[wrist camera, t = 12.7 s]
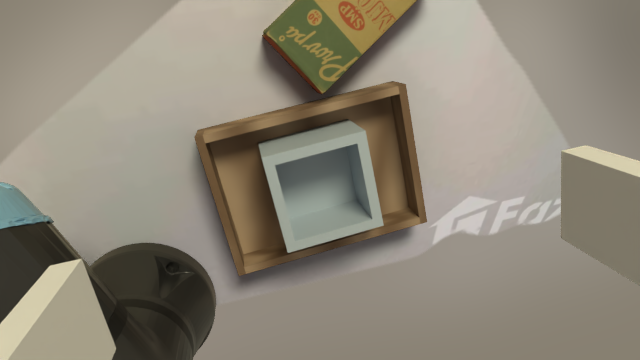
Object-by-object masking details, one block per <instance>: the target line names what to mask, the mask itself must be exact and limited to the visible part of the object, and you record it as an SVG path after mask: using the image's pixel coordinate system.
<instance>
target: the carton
mask: <svg viewBox="0 0 640 360" xmlns="http://www.w3.org/2000/svg"><path fill="white" fill-rule="evenodd" d="M416 1H417V0H295V1H294V2H293V3H292V4H291V5H290V6H289V7H288V8H287V9H286V10H285V11H284V12H283V13H282V14H281V15H280V16H279V17H278V18H277V19H276V20H275V21H274V22H273V23H272V24H271V25H270V26H269V27H268V28H266V29H265V30H264V31H263V33H264V35H262V36H263V37H264V38H265V39H266V40H267V41H268V42H269V43H270V44H271V45H272V46H273V47H274V48H275V49H276V50H277V51H278V52H279V53H280V55H281V56H282V57H283V58H284V59H285V60H286V61H287V62H288V63H289V64H290V65H291V66H292V67H293V68H294V69H295V70H296V71H297V72H298V73H299V74H300V75H301V76H302V77H303V78H304V79H305V80H306V81H307V82H308V83H309V84H310V85H311V86H312V87H313V88H314V89H315V90H316V91H317V92H318V93H319V94H323V93H325V92H326V91H327V90H328V89H329V88H330V87H331V86H332V85H333V84H334V83H335V82H336V81H337V80H338V79H339V78H340V77H341V76H342V75H343V74H344V73H345V72H346V71H347V70H348V69H349V68H350V67H351V66H352V65H353V64H354V63H355V62H356V61H357V60H358V59H359V58H360V57H361V56H362V55H363V54H364V53H365V52H366V51H367V50H368V49H369V48H370V47H371V46H372V45H373V44H374V43H375V42H376V41H377V40H378V39H379V38H380V37H381V36H382V35H383V34H384V33H385V32H386V31H387V30H388V29H389V28H390V27H391V26H392V25H393V24H394V23H395V22H396V21H397V20H398V19H399V18H400V17H401V16H402V15H403V14H404V13H405V12H406V11H407V10H408V9H409V8H410V7H411V6H412V5H413V4H414V3H415V2H416Z"/></svg>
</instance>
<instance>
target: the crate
mask: <svg viewBox="0 0 640 360" xmlns="http://www.w3.org/2000/svg"><path fill="white" fill-rule="evenodd" d="M345 119H349V120H350V121H352V122H353V123H355V124H356V125H358V126H359V127H361V128H362V129H364V130H365V131H366V136H367V141H368V146H369V151H370V157H371V162H372V167H373V172H374V177H375V183H376V188H377V193H378V198H379V203H380V209H381V214H382V219H383V224H384V226H380V227H377V228H373V229H370V230H366V231H363V232H359V233H356V234H352V235H349V236H345V237H342V238H338V239H335V240H331V241H328V242H324V243H321V244H318V245H314V246H311V247H307V248H304V249H300V250H297V251H293V252H290V253H288V252H287V248H286V245H285V241H284V237H283V234H282V230H281V226H280V223H279V219H278V216H277V212H276V208H275V205H274V201H273V198H272V194H271V190H270V187H269V183H268V179H267V176H266V172H265V169H264V165H263V161H262V158H261V153H260V149H259V144H258V142H260V141H264V140H268V139H272V138H276V137H280V136H284V135H287V134H291V133H295V132H299V131H303V130H307V129H311V128H314V127H318V126H322V125H326V124H330V123H334V122H338V121H341V120H345ZM194 138H195V141H196V144H197V147H198V150H199V153H200V156H201V160H202V163H203V166H204V169H205V172H206V175H207V178H208V181H209V184H210V188H211V191H212V194H213V197H214V200H215V203H216V206H217V209H218V213H219V216H220V219H221V222H222V225H223V228H224V231H225V234H226V237H227V241H228V244H229V247H230V250H231V253H232V256H233V259H234V262H235V266H236V269H237V272H238V275H239V276H240V275H244V274H247V273H251V272H254V271H258V270H261V269H265V268H268V267H272V266H275V265H279V264H282V263H286V262H289V261H293V260H296V259H300V258H303V257H307V256H310V255H314V254H317V253H320V252H324V251H327V250H331V249H334V248H338V247H341V246H345V245H348V244H352V243H355V242H359V241H362V240H366V239H369V238H373V237H376V236H380V235H383V234H387V233H390V232H394V231H397V230H401V229H404V228H408V227H411V226H415V225H418V224H422V223H425V222H427V219H426V212H425V206H424V199H423V193H422V186H421V180H420V173H419V167H418V160H417V154H416V148H415V141H414V135H413V128H412V122H411V115H410V109H409V102H408V96H407V89H406V84H402V83H398V82H394V81H392V82H388V83H384V84H380V85H376V86H372V87H368V88H364V89H360V90H356V91H352V92H348V93H344V94H340V95H336V96H332V97H328V98H324V99H320V100H316V101H312V102H308V103H304V104H300V105H296V106H292V107H288V108H284V109H280V110H276V111H272V112H268V113H264V114H260V115H256V116H252V117H248V118H244V119H240V120H236V121H232V122H228V123H224V124H220V125H216V126H212V127H208V128H204V129H200V130H198V131H197V133H196V135H195V137H194Z"/></svg>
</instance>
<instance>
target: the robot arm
mask: <svg viewBox="0 0 640 360" xmlns="http://www.w3.org/2000/svg"><path fill="white" fill-rule="evenodd" d="M53 222H54V221H53V220H52V219H51V218H50V217H49V216H45V215H43V214H42V213H41V212H40V211H39V210H38V209H37V208H36V207H35V206H34V205H33V203H32V202H31V201H30V200H29V199H28V198H27V197H26V196H25V195H24V194H23V193H22V192H21V191H20V190H19V189H17V188H16V187H14V186H13V185H10V184H8V183H4V182H0V360H193V357H194V355H195V354H196V352H197V350H198V349H199V348H200V347H201V346H202V345H203V343H204V342H205V340H206V339H207V337H208V335H209V333H210V331H211V328H212V325H213V322H214V316H215V307H216V296H215V290H214V286H213V283H212V281H211V279H210V277H209V275H208V273H207V272H206V271H205V269H204V268H203V267H202V266H201V265H200V264H199V263H198V262H197V261H196V260H195V259H194V258H192V257H191V256H189V255H188V254H186V253H184V252H183V251H180V250H178V249H176V248H173V247H170V246H166V245H162V244H155V243H138V244H131V245H126V246H123V247H120V248H117V249H114V250H112V251H110V252H108V253H107V254H105V255H103V256H102V257H100V258H99V259H98V260H97V261H95V262H94V263H93V264H92V265H91V266H89V265H88V264H87V263H86V262H85V261H84V260H83V258H82V257H81V256H80V255H79V254H78V253H77V251H76V250H75V249H74V248H73V247H72V246H71V245H70V243H69V242H68V241H67V240H66V239H65V238H64V237H63V235H62V234H61V233H60V232H59V231H58V230H57V229H56V227H55V226H54V225H53V224H52V223H53ZM561 238H562V239H563V240H565V241H567V242H568V243H570V244H572V245H573V246H575V247H576V248H578V249H580V250H581V251H583V252H585V253H586V254H588V255H590V256H591V257H593V258H595V259H596V260H598V261H600V262H601V263H603V264H604V265H606V266H608V267H609V268H611V269H613V270H614V271H616V272H618V273H619V274H621V275H622V276H624V277H626V278H627V279H629V280H631V281H632V282H634V283H636V284H637V285H639V286H640V161H637V160H634V159H630V158H627V157H624V156H620V155H617V154H614V153H610V152H607V151H603V150H600V149H596V148H593V147H590V146H587V145H586V146H581V147H577V148H572V149H567V150H563V151H561Z"/></svg>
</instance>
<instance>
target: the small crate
mask: <svg viewBox="0 0 640 360" xmlns="http://www.w3.org/2000/svg"><path fill="white" fill-rule="evenodd" d="M258 144H259V149H260V153H261V158H262V161H263V165H264V169H265V172H266V176H267V179H268V183H269V187H270V190H271V194H272V198H273V201H274V205H275V208H276V212H277V216H278V219H279V223H280V226H281V230H282V234H283V237H284V241H285V245H286V248H287V252H288V253H290V252H293V251H297V250H300V249H304V248H307V247H311V246H314V245H318V244H321V243H324V242H328V241H331V240H335V239H338V238H342V237H345V236H349V235H352V234H356V233H359V232H363V231H366V230H370V229H373V228H377V227H380V226H384V224H383V219H382V214H381V209H380V203H379V198H378V193H377V188H376V183H375V177H374V172H373V167H372V162H371V157H370V151H369V146H368V141H367V136H366V131H365V130H364V129H362V128H361V127H359V126H358V125H356V124H355V123H353V122H352V121H350V120H349V119H345V120H341V121H338V122H334V123H330V124H326V125H322V126H318V127H314V128H311V129H307V130H303V131H299V132H295V133H291V134H287V135H284V136H280V137H276V138H272V139H268V140H264V141H260V142H258Z"/></svg>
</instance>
